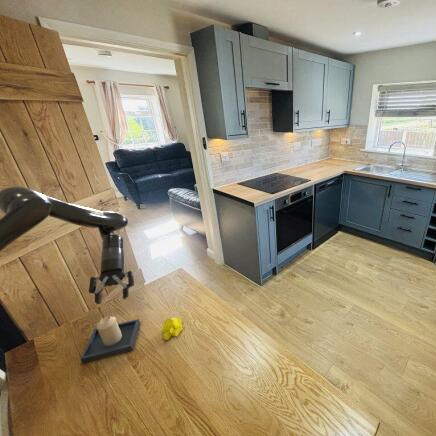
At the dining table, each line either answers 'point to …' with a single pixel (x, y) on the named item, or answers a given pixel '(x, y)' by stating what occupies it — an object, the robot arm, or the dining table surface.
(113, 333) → the candle
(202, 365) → the dining table surface
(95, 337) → the tray
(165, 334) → the crumpled paper
